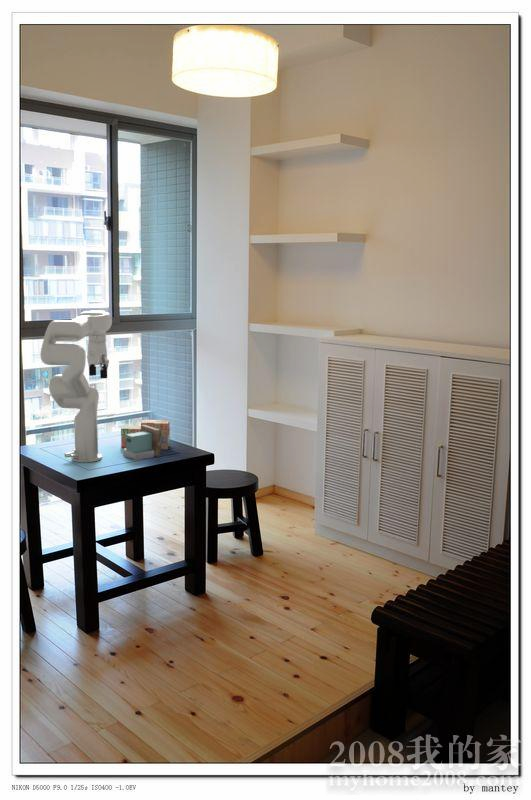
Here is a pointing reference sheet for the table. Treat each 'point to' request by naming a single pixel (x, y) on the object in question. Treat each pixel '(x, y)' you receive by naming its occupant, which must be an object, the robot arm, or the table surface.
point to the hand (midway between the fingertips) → (98, 376)
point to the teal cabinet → (138, 441)
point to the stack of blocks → (158, 424)
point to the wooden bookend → (150, 452)
